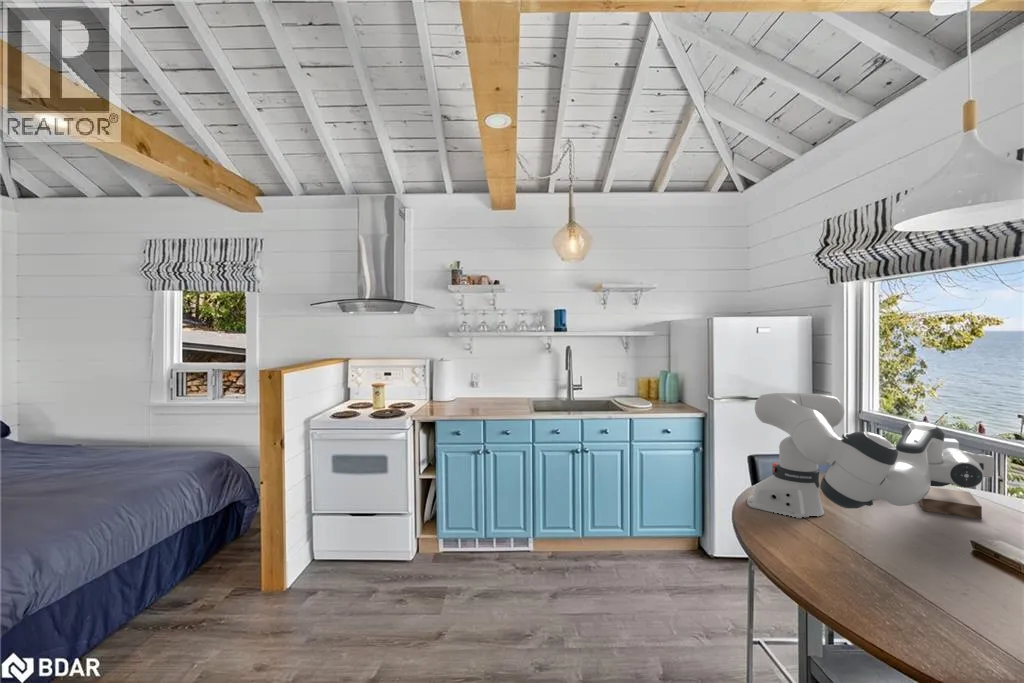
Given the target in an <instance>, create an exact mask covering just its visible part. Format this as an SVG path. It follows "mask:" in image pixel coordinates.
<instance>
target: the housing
mask: <svg viewBox="0 0 1024 683" xmlns="http://www.w3.org/2000/svg"><path fill="white" fill-rule="evenodd" d="M947 448H956V449H960V442H959V441H958V440H957V439H956V438H946V437H944V442H943V449H947Z"/></svg>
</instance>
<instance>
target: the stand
mask: <svg viewBox="0 0 1024 683" xmlns="http://www.w3.org/2000/svg"><path fill="white" fill-rule="evenodd" d="M917 503H919V506H920V508H921V509H922V511H925V510H926V511H927V512H931V511H934V512H933V513H938V512H940V514H945V513H947V514H946V515H951V514H953V515H954V516H958V515H960V516H959V517H964V516H965V517H966V518H971V517H972V519H978V518H980V519H979V520H982V519H983V518H982V517H983V516H982V515H983V510H982V508H983V507H982V505H981V503H979V501H978V500H977V499H976V498H975V497H974V496H973V494H971V492H970V491H963V490H958V489H957V490H956V489H948V488H941V487H935V486H930V490H929V492H928V493H927V495H926V496H925V497H924V498H923V499H921V500H920V501H918V502H917Z"/></svg>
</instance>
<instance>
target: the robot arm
mask: <svg viewBox="0 0 1024 683" xmlns="http://www.w3.org/2000/svg"><path fill="white" fill-rule="evenodd" d="M754 412H755V416H756V417H757V419H758V420H759V421H760V422H761V423H763V424H767V425H770V426H773V427H776V428H777V429H780V430H781V431H783V432H785V433H787V434H788V435H789V436H786V437H785V438H783V439H782V440H781V441H780V443H779V446H778V453H779V454H778V457H779V459H778V460H779V463H778V462H773V464H772V466H771V467H772V475H771V476H769V477H767V478H764V479H763V480H761V481H759V482H758V483H757V484H756V486H755V488H754V492H753V493H752V494H750V495H749V496H748V497H747V500H746V503H747V504H746V505H747V506H748V507H749V508H753V509H756V510H761V511H764V512H769V513H773V512H774V514H777V513H779V514H778V515H781V514H783V516H786V515H789V516H788V517H790V516H792V517H791V518H794V517H796V518H795V519H803V518H802V517H804V518H810V517H809V516H817V517H820V516H821V517H822V516H824V514H825V511H824V508H823V505H822V500H821V495H820V494H821V493H822V494H823V495H824V497H826V498H827V499H828V500H829V501H830V502H832V503H833V504H835V505H837V506H839V507H841V508H844V509H848V510H849V509H859V508H862V507H864V506H867V507H872V506H873V505H874V502H873V501H874V500H876V499H880V500H883V501H884V502H886V503H888V504H890V505H894V506H898V507H899V506H900V507H902V506H903V507H904V506H905V507H906V506H911V505H913V504H916V503H919V502H918V501H920V500H921V499H923V498H924V497H925V496H926V495H927V493H928V492H929V490H930V487H936V488H941V487H942V488H943V487H945V486H949V485H954V486H956V487H959V488H965V489H971V488H975V487H977V486H979V485H980V484H982V482H983V480H984V478H993V477H994V471H995V457H994V456H992V455H989V454H988V455H987V454H982V453H981V454H980V453H975V452H970V451H967V450H962V449H961V448H959V449H956V448H947V449H943V442H944V438H945V433H944V431H943V430H942V429H941V428H940V427H938V425H935V424H932V423H930V422H929V423H928V422H919V421H917V422H909V423H907V424H906V425H904V426H903V427H902V428H901V437H900V439H899V440H898V442H897V443H896V445H894V444H892V443H891V442H890V441H889V440H888V439H887V438H885V437H883V436H882V435H880V434H878V433H877V434H876V433H873V432H869V431H854V432H852V433H848V432H845V433H843V434H841V437H840V436H838V434H837V433H836V431H835V430H834V427H837V426H838V425H839V424H841V422H843V419H844V416H845V408H844V405H843V403H842V402H841V400H840V399H839V398H837V397H836V396H832V395H828V394H824V393H823V394H822V393H807V392H806V393H803V392H802V393H801V392H800V393H798V392H797V393H793V392H792V393H791V392H790V393H788V392H773V393H766V394H761V395H760V396H758V398H757V399H756V401H755V404H754ZM820 465H821V466H827V465H830V466H829V467H828V470H827V471H826V474H825V475H823V476H822V479H821V474H820V469H819V466H820ZM820 490H821V493H820Z"/></svg>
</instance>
